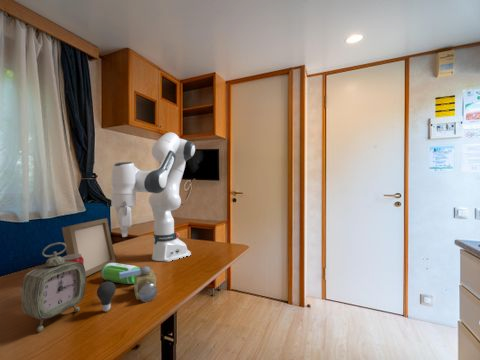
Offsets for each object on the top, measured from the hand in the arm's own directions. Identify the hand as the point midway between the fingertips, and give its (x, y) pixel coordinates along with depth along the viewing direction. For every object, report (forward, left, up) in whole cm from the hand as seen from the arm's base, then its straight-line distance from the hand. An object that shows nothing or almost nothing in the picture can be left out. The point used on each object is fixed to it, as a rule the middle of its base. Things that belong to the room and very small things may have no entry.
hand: (123, 234), depth 91 cm
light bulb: (+6, +12, -23) cm, 27 cm away
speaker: (0, -11, -24) cm, 26 cm away
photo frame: (+14, -33, -23) cm, 43 cm away
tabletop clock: (+21, +9, -23) cm, 33 cm away
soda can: (+18, -9, -23) cm, 31 cm away
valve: (-7, +7, -23) cm, 25 cm away
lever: (-3, +7, -15) cm, 17 cm away
